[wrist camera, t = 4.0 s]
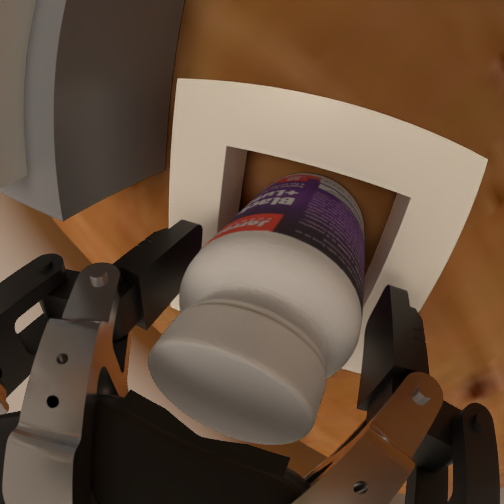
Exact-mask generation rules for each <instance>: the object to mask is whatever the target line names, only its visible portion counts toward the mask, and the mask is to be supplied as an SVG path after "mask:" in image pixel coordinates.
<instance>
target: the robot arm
mask: <svg viewBox="0 0 504 504" xmlns="http://www.w3.org/2000/svg"><path fill="white" fill-rule="evenodd" d="M202 234H203V229H202V226H201V225H200V224H197V223H193V222H190V221H187V220H180V221H179V222H177V223H176V224H175V225H173V226H172V227H171V228H169V229H168V228H165V229H162V230H160V231H157V232H154V233H153V234H151V235H150V236H149V237H147V238H146V239H145V241H144V240H143V241H142V242H141V243H139V244H138V246H135V247H134V248H133V249H131V250H130V251H129V252H127V253H126V254H125V255H124V256H122V257H121V258H120V259H118V260H117V261H116V262H115V263H113V264H110V263H95V264H92V265H89V266H87V267H86V268H84V269H83V270H82V271H81V272H78V271H72V270H67V269H65V266H64V262H63V259H62V257H61V256H59V255H57V254H45V255H42V256H40V257H38V258H36V259H35V260H33V261H31V262H30V263H28V264H27V265H25V266H24V267H22V268H21V269H19V270H18V271H16V272H15V273H14V274H12V275H11V276H9V277H8V278H6V279H5V280H3V281H2V282H1V283H0V414H1V415H0V504H389V503H390V501H391V500H392V499H393V497H394V496H395V495H396V494H397V492H398V491H399V490H400V488H401V487H402V485H403V484H404V483H405V481H406V480H407V485H406V496H405V504H500V479H499V463H498V452H497V443H496V436H495V429H494V423H493V419H492V416H491V414H490V412H489V411H488V410H487V408H486V407H484V406H483V405H481V404H479V403H471V404H469V405H468V406H467V407H466V408H464V409H463V410H460V409H458V408H456V407H454V406H453V405H451V404H449V403H447V402H445V401H444V400H443V392H442V389H441V387H440V385H439V384H438V382H437V381H436V380H435V379H434V378H433V377H431V376H430V375H429V366H428V357H427V349H426V343H425V334H424V333H423V332H424V328H423V322H422V319H421V317H420V315H419V313H418V312H417V310H416V308H413V307H410V303H409V296H408V292H407V290H404V289H401V288H398V287H395V286H392V285H387V286H386V287H385V288H384V290H383V292H382V294H381V296H380V298H379V300H378V302H377V304H376V306H375V308H374V309H373V311H372V313H371V315H370V317H369V319H368V322H367V325H366V328H365V334H364V348H363V359H362V369H361V379H360V387H359V395H358V402H357V409H361V410H365V411H367V417H366V419H365V420H364V421H363V422H362V423H361V424H360V425H359V426H358V427H357V429H356V430H355V431H354V432H353V433H352V434H351V435H350V436H349V437H348V438H347V439H346V440H345V441H344V442H343V443H342V444H341V445H340V446H339V447H338V448H337V449H336V450H335V451H334V452H333V453H332V454H331V455H330V456H329V457H328V458H327V459H326V460H325V461H324V462H322V463H321V464H320V465H319V466H318V467H316V468H315V469H314V470H313V471H311V472H310V473H309V474H308V475H307V476H306V477H304V478H302V477H301V476H300V475H299V474H297V473H296V472H295V471H293V470H292V469H290V468H288V467H287V465H288V462H289V460H290V458H289V457H286V456H282V455H279V454H276V453H272V452H269V451H266V450H263V449H260V448H257V447H254V446H251V445H248V444H240V443H233V442H226V441H220V440H214V439H209V438H204V437H201V436H199V435H197V434H196V433H194V432H193V431H192V430H190V429H189V428H188V427H187V426H185V425H184V424H183V423H182V422H180V421H179V420H178V419H177V418H176V417H174V416H173V415H172V414H171V413H170V412H169V411H167V410H166V409H165V408H163V407H161V406H159V405H157V404H156V403H153V402H152V401H150V400H148V399H146V398H145V397H142V396H141V395H139V394H138V393H136V392H134V391H132V390H130V391H128V385H127V375H128V364H129V354H130V346H131V336H132V334H131V329H132V328H133V327H134V326H135V325H137V326H139V327H141V328H143V329H145V330H147V329H148V328H149V327H150V326H151V325H152V324H153V322H154V321H155V320H156V319H157V318H158V317H159V316H160V314H161V313H162V312H163V311H164V310H165V309H166V308H167V306H168V305H169V304H170V303H171V302H172V301H173V300H174V299H175V297H176V296H177V295H178V294H179V291H180V286H181V282H182V279H183V276H184V274H185V272H186V270H187V268H188V266H189V264H190V263H191V261H192V260H193V259H194V257H195V256H196V255H197V254H198V252H199V251H200V250H201V248H202ZM38 302H39V303H40V305H41V307H42V310H43V312H44V313H43V314H42V315H41V316H40V317H38V318H37V319H36V320H34V321H33V322H32V323H31V324H30V325H28V326H27V327H26V328H25V329H24V330H22V331H21V332H20V333H18V334H17V333H16V332H15V322H16V320H17V319H18V318H19V317H20V316H21V315H22V314H24V313H25V312H26V311H27V310H28V309H30V308H31V307H32V306H34V305H35V304H36V303H38ZM29 375H30V377H29V381H28V384H27V388H26V392H25V396H24V401H23V405H22V410H21V411H18V412H13V413H7V412H8V410H9V405H8V403H7V402H6V398H7V397H8V396H9V395H10V394H11V392H13V390H15V389H16V388H17V386H19V385H20V384H21V383H22V382H23V381H24V380H25V379H26V378H27V377H28V376H29ZM6 413H7V414H6ZM451 464H453V493H452V496H451V498H450V500H449V501H448V502H447V499H448V466H449V465H451Z"/></svg>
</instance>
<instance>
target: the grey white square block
mask: <svg viewBox="0 0 504 504" xmlns="http://www.w3.org/2000/svg"><path fill="white" fill-rule="evenodd" d="M184 2H185V0H0V192H1V193H2V194H5V195H6V196H9V197H11V198H13V199H15V200H17V201H19V202H21V203H23V204H26V205H28V206H30V207H32V208H34V209H36V210H38V211H41V212H43V213H45V214H48V215H49V216H52V217H54V218H56V219H58V220H61V221H65V220H66V219H68V218H70V217H72V216H73V215H75V214H77V213H79V212H81V211H82V210H84V209H86V208H88V207H90V206H92V205H93V204H95V203H97V202H99V201H101V200H103V199H105V198H107V197H109V196H111V195H113V194H115V193H117V192H119V191H121V190H123V189H125V188H127V187H129V186H131V185H133V184H135V183H137V182H140V181H142V180H144V179H146V178H148V177H150V176H153V175H155V174H157V173H159V172H162V171H164V170H165V165H166V145H167V130H168V117H169V106H170V95H171V86H172V77H173V69H174V62H175V54H176V48H177V41H178V35H179V29H180V23H181V17H182V12H183V7H184Z"/></svg>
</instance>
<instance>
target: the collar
mask: <svg viewBox="0 0 504 504" xmlns="http://www.w3.org/2000/svg"><path fill="white" fill-rule="evenodd" d="M247 150H250V151H254V152H259V153H263V154H268V155H272V156H276V157H280V158H284V159H288V160H292V161H296V162H300V163H304V164H308V165H311V166H315V167H319V168H322V169H326V170H329V171H333V172H336V173H339V174H343V175H346V176H349V177H352V178H355V179H359V180H362V181H365V182H368V183H371V184H374V185H377V186H380V187H383V188H386V189H388V190H391V191H394V192H397V194H396V197H395V200H394V203H393V206H392V209H391V212H390V214H389V217H388V220H387V223H386V225H385V228H384V231H383V233H382V236H381V238H380V241H379V243H378V246H377V248H376V251H375V253H374V256H373V258H372V261H371V263H370V265H369V268H368V270H367V272H366V275H365V277H364V295H363V315H362V324H361V330H360V336H359V340H358V343H357V346H356V348H355V350H354V352H353V354H352V356H351V357H350V359H349V360H348V361H347V363H346V364H345V365H344V366H343V367H342V369H345V370H349V371H352V372H356V373H360V374H361V369H362V359H363V348H364V334H365V328H366V325H367V322H368V319H369V317H370V315H371V313H372V311H373V309H374V308H375V306H376V304H377V302H378V300H379V298H380V296H381V294H382V292H383V290H384V288H385V287H386V286H387V285H392V286H395V287H398V288H401V289H404V290H407V292H408V296H409V303H410V307H413V308H416V310H417V312H418V313H419V311H420V309H421V308H422V306H423V304H424V303H425V301H426V299H427V298H428V296H429V294H430V292H431V291H432V289H433V287H434V285H435V284H436V282H437V280H438V278H439V276H440V274H441V273H442V271H443V269H444V267H445V265H446V263H447V261H448V259H449V257H450V255H451V253H452V251H453V249H454V247H455V245H456V242H457V240H458V238H459V236H460V234H461V231H462V229H463V227H464V225H465V222H466V220H467V218H468V215H469V213H470V210H471V208H472V205H473V202H474V200H475V197H476V195H477V192H478V189H479V186H480V183H481V180H482V177H483V174H484V171H485V168H486V165H487V162H488V159H486V158H484V157H483V156H481V155H479V154H477V153H475V152H473V151H471V150H469V149H467V148H465V147H463V146H461V145H459V144H457V143H455V142H453V141H450V140H448V139H446V138H444V137H442V136H439V135H437V134H435V133H432V132H430V131H428V130H425V129H423V128H420V127H418V126H415V125H413V124H410V123H407V122H405V121H402V120H399V119H396V118H394V117H391V116H388V115H385V114H382V113H379V112H376V111H372V110H369V109H366V108H363V107H359V106H356V105H352V104H349V103H345V102H341V101H337V100H333V99H329V98H325V97H321V96H317V95H312V94H307V93H303V92H298V91H292V90H287V89H281V88H275V87H269V86H262V85H255V84H247V83H239V82H229V81H218V80H204V79H182V78H177V87H176V96H175V106H174V117H173V129H172V143H171V160H170V183H169V228H171V227H172V226H173V225H175V224H176V223H177V222H179V221H180V220H187V221H190V222H193V223H197V224H200V225H201V226H202V229H203V234H202V247H203V246H205V245H206V244H207V243H208V242H209V241H210V240H211V239H212V238H213V237H214V236H215V235H216V234H217V233H218V232H219V231H220V230H222V229H223V228H224V227H225V226H226V225H227V224H228V223H229V222H230V221H231V220H232V219H233V218H234V217H235V216H236V215H237V214H238V213H239V205H240V198H241V191H242V184H243V177H244V170H245V164H246V157H247ZM171 307H172V308H174V309H177V310H179V311H180V306H179V294H178V295H177V296H176V297H175V299H174V300H173V301H172V302H171Z"/></svg>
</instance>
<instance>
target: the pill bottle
mask: <svg viewBox="0 0 504 504" xmlns="http://www.w3.org/2000/svg"><path fill="white" fill-rule="evenodd" d="M364 258H365V230H364V222H363V217H362V214H361V211H360V209H359V206H358V204H357V203H356V201H355V200H354V198H353V197H352V196H351V194H350V193H349V192H348V191H347V190H346V189H345V188H344V187H342V186H341V185H340V184H338V183H337V182H335V181H333V180H331V179H329V178H327V177H324V176H321V175H317V174H312V173H296V174H291V175H287V176H285V177H282V178H280V179H278V180H276V181H274V182H273V183H272V184H270V185H269V186H267V187H266V188H265V189H264V190H263V191H262V192H261V193H260V194H258V195H257V196H256V197H255V198H254V199H253V200H252V201H251V202H250V203H249V204H248V205H247V206H246V207H245V208H243V209H242V210H241V211H240V212H239V213H238V214H237V215H236V216H235V217H234V218H233V219H232V220H231V221H230V222H229V223H228V224H227V225H226V226H225V227H224V228H223V229H222V230H220V231H219V232H218V233H217V234H216V235H215V236H214V237H213V238H212V239H211V240H210V241H209V242H208V243H207V244H206V245H205V246H203V247H202V248H201V250H200V251H199V252H198V254H197V255H196V256H195V257H194V259H193V260H192V261H191V263H190V264H189V266H188V268H187V270H186V272H185V274H184V276H183V279H182V282H181V286H180V291H179V306H180V312H181V313H180V314H179V315H178V316H177V317H176V318H175V319H174V320H173V322H172V323H171V324H170V325H169V327H168V328H167V329H166V331H165V332H164V333H163V334H162V336H161V337H160V338H159V340H158V341H157V342H156V344H155V345H154V346H153V348H152V349H151V351H150V353H149V357H148V367H149V371H150V373H151V376H152V378H153V380H154V382H155V384H156V385H157V387H158V388H159V389H160V391H161V392H162V393H163V394H164V395H165V396H166V397H167V398H168V399H169V400H170V401H171V402H172V403H173V404H174V405H175V406H176V407H177V408H178V409H179V410H181V411H182V412H183V413H185V414H186V415H187V416H189V417H190V418H192V419H193V420H195V421H197V422H198V423H200V424H202V425H204V426H206V427H208V428H210V429H212V430H214V431H216V432H219V433H221V434H223V435H226V436H229V437H231V438H235V439H239V440H242V441H247V442H251V443H258V444H271V445H279V444H287V443H291V442H295V441H298V440H300V439H302V438H303V437H305V436H306V435H307V434H308V433H309V432H310V431H311V429H312V427H313V425H314V422H315V419H316V416H317V412H318V409H319V406H320V403H321V400H322V396H323V394H324V391H325V386H326V379H327V378H329V377H330V376H332V375H333V374H335V373H336V372H337V371H339V370H340V369H341V368H342V367H343V366H344V365H345V364H346V363H347V361H348V360H349V359H350V357H351V356H352V354H353V352H354V350H355V348H356V346H357V343H358V340H359V336H360V330H361V324H362V315H363V295H364V266H365V259H364Z"/></svg>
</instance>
